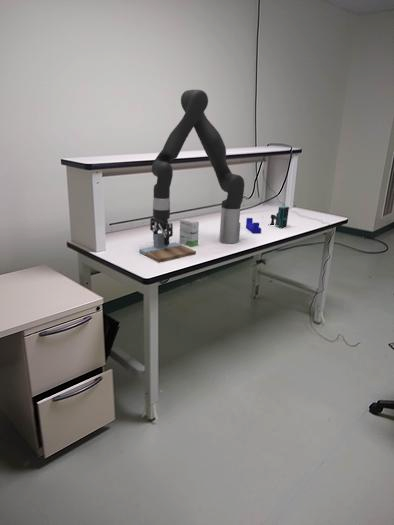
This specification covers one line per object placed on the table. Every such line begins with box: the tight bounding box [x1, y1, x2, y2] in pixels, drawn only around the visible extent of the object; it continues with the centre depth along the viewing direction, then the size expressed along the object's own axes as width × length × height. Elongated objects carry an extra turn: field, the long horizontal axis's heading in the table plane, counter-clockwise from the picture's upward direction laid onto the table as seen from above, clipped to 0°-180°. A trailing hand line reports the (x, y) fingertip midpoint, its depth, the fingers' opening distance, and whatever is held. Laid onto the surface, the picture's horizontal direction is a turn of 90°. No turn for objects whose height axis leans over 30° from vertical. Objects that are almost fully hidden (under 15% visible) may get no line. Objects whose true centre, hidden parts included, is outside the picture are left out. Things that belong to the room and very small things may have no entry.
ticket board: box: [145, 244, 197, 264], centre depth 177 cm, size 20×10×2 cm, turn 130°
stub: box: [138, 232, 182, 256], centre depth 182 cm, size 20×5×8 cm, turn 130°
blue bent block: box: [245, 217, 262, 235], centre depth 222 cm, size 12×4×6 cm, turn 12°
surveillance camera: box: [267, 206, 290, 229], centre depth 233 cm, size 6×12×10 cm
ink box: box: [179, 218, 200, 248], centre depth 193 cm, size 9×5×12 cm, turn 46°
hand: (161, 242), depth 182 cm, fingers open, 8 cm apart
